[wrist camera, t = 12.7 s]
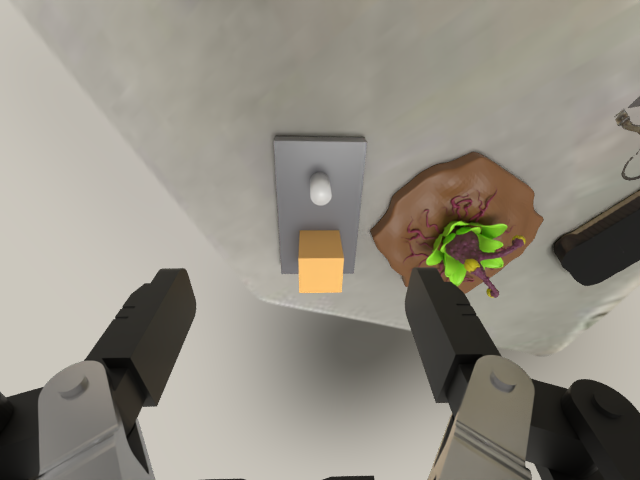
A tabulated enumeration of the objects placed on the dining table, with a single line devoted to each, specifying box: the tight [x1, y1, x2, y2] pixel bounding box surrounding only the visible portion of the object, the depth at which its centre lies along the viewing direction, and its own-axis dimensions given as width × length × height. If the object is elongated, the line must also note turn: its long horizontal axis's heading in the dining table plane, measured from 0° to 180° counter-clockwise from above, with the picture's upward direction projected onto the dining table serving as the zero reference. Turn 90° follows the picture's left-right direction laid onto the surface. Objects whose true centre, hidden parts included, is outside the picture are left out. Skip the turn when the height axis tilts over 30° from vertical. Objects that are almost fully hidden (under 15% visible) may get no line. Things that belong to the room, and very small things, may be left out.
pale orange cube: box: [298, 230, 344, 293], centre depth 37 cm, size 5×5×6 cm
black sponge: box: [554, 191, 640, 286], centre depth 41 cm, size 16×8×4 cm, turn 135°
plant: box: [370, 152, 544, 298], centre depth 37 cm, size 20×20×11 cm
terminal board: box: [274, 136, 367, 274], centre depth 37 cm, size 18×10×6 cm, turn 179°
